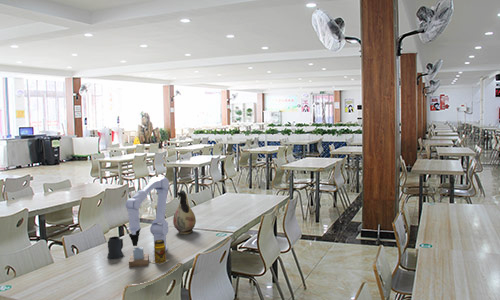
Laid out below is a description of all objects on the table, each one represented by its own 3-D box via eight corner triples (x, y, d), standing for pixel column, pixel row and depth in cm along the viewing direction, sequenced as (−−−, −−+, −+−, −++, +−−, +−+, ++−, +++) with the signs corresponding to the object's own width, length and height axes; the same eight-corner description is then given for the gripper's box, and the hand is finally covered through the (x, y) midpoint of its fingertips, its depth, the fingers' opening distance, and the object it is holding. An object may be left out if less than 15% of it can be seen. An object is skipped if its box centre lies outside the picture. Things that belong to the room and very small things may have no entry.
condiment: (160, 264, 224) (159, 243, 223) (149, 262, 228) (147, 241, 227) (169, 260, 230) (168, 239, 229) (158, 258, 234) (157, 237, 233)
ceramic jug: (171, 231, 287) (169, 189, 284) (192, 227, 293) (190, 186, 290) (177, 237, 271) (175, 193, 269) (199, 234, 278) (197, 190, 275)
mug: (118, 259, 234) (116, 240, 233) (103, 259, 236) (102, 239, 235) (129, 252, 245) (127, 234, 244) (115, 251, 247) (114, 233, 246)
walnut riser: (130, 260, 231) (130, 255, 231) (149, 258, 233) (148, 253, 233) (129, 267, 222) (128, 261, 221) (148, 265, 223) (147, 259, 223)
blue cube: (134, 256, 229) (133, 247, 229) (143, 255, 230) (143, 247, 230) (133, 259, 224) (133, 250, 224) (143, 258, 225) (142, 249, 225)
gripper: (127, 217, 234) (129, 240, 235) (125, 223, 220) (127, 248, 221) (140, 216, 235) (142, 239, 236) (139, 222, 221) (140, 247, 222)
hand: (135, 243), depth 229 cm, fingers open, 7 cm apart
